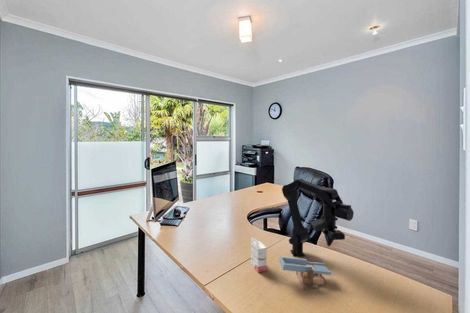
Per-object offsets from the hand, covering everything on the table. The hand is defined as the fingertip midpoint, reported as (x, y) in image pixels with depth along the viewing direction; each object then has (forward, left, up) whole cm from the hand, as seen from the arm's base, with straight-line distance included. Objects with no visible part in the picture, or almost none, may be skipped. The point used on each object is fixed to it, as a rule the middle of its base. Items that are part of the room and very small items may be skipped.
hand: (328, 245), depth 110 cm
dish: (+8, -12, -12) cm, 19 cm away
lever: (+8, -15, -6) cm, 18 cm away
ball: (+8, -14, -10) cm, 19 cm away
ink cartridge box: (-4, -34, -12) cm, 36 cm away
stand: (+8, -14, -12) cm, 20 cm away
